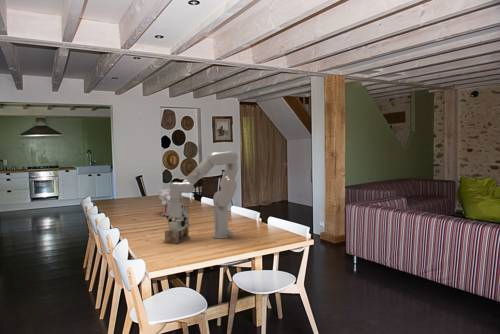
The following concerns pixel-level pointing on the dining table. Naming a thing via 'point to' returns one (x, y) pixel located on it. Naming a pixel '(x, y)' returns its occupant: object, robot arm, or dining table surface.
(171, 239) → the peg stand
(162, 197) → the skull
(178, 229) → the grey green block
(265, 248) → the dining table surface
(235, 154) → the robot arm
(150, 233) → the dining table surface
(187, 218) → the coffee box
